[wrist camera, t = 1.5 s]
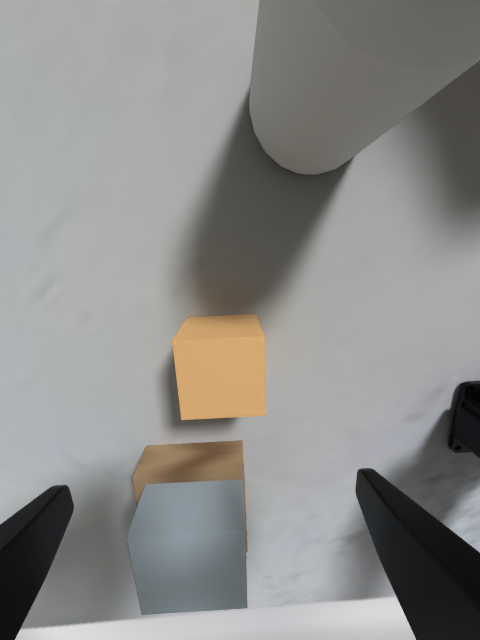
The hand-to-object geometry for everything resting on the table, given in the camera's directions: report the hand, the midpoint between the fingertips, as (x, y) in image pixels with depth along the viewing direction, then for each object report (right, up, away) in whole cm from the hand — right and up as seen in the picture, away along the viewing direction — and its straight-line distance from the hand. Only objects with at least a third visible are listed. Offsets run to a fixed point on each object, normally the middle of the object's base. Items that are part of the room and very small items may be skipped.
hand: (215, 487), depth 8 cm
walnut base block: (-3, -9, +15) cm, 18 cm away
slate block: (-2, -10, +11) cm, 15 cm away
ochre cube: (0, +3, +11) cm, 12 cm away
